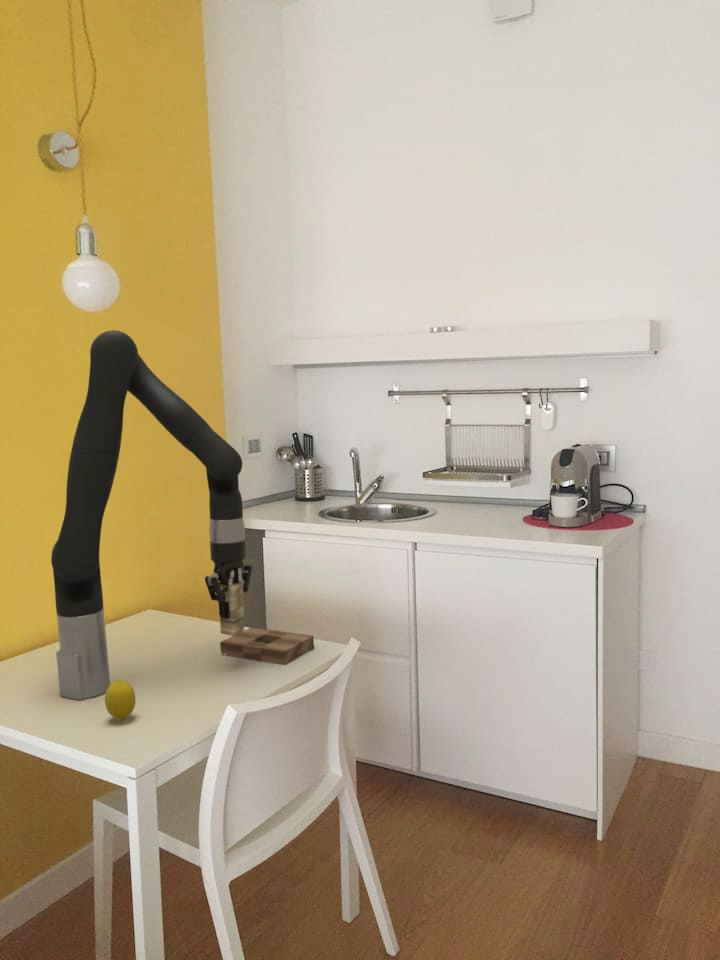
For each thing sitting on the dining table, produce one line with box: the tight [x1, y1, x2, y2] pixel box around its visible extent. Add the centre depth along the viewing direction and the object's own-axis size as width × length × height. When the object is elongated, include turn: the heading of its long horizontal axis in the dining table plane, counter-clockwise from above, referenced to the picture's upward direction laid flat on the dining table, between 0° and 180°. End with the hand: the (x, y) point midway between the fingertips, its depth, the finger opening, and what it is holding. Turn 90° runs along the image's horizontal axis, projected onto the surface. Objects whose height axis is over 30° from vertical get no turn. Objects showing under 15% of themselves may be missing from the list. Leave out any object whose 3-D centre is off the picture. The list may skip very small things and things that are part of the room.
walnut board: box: [219, 626, 315, 666], centre depth 192 cm, size 12×18×3 cm, turn 61°
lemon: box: [104, 679, 136, 721], centre depth 157 cm, size 6×6×8 cm
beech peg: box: [219, 582, 245, 637], centre depth 180 cm, size 4×4×11 cm
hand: (231, 615), depth 181 cm, fingers closed on beech peg, 3 cm apart
